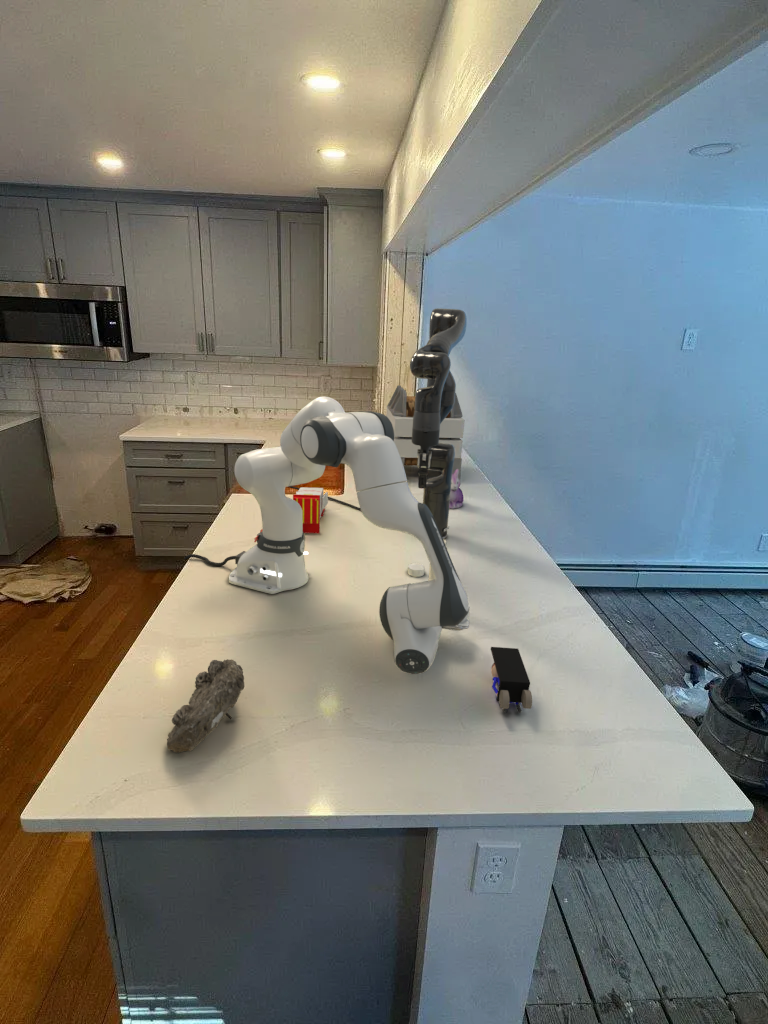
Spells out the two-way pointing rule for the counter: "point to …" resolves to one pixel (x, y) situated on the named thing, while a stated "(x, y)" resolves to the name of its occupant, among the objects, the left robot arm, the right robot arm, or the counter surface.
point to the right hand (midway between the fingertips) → (422, 483)
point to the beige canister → (431, 573)
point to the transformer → (402, 422)
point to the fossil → (206, 705)
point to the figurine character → (510, 678)
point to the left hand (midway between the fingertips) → (430, 595)
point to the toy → (311, 507)
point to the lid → (416, 569)
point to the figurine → (455, 492)
